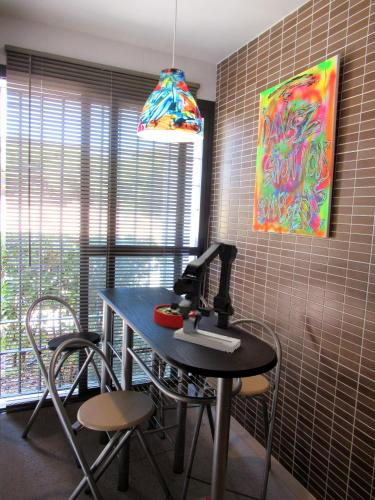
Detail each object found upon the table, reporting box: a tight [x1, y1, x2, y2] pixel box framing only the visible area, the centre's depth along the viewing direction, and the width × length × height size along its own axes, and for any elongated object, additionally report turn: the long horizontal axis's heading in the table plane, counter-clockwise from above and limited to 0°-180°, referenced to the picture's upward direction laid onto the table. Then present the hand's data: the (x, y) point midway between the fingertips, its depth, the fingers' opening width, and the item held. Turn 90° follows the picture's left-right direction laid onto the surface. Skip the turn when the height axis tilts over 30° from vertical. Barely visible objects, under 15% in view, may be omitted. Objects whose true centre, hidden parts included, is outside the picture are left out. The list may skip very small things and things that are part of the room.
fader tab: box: [183, 317, 199, 334], centre depth 154 cm, size 6×4×5 cm, turn 152°
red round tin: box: [152, 304, 196, 329], centre depth 176 cm, size 20×6×20 cm
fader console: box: [173, 328, 241, 354], centre depth 151 cm, size 10×26×3 cm, turn 62°
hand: (190, 328), depth 154 cm, fingers closed on fader tab, 4 cm apart
